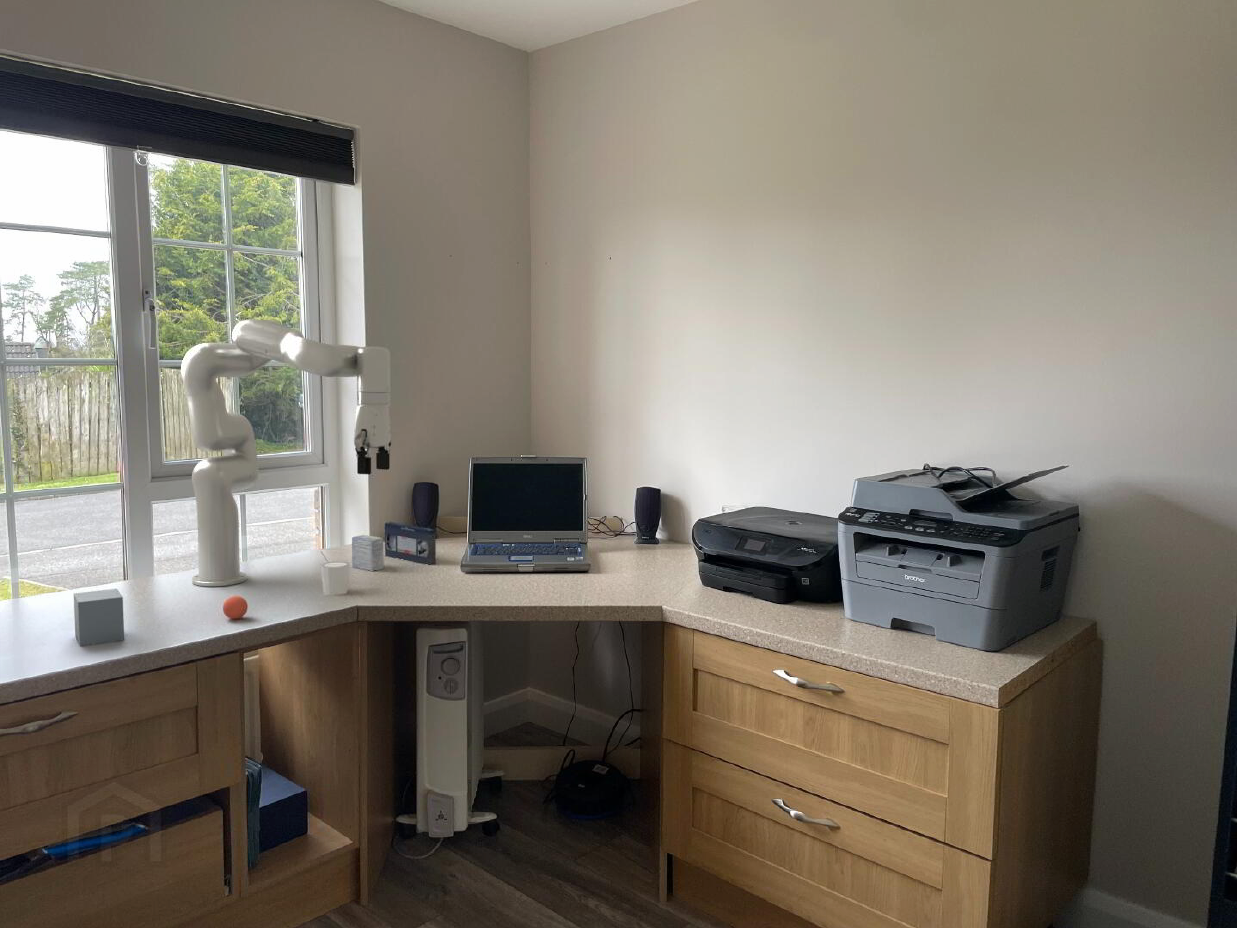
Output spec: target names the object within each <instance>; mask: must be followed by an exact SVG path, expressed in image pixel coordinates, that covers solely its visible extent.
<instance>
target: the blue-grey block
mask: <svg viewBox="0 0 1237 928" xmlns="http://www.w3.org/2000/svg"><path fill="white" fill-rule="evenodd" d="M73 611H74V612H73V613H74V614H73V615H74V632H75V633H74V635H75V638H77V639H76V641H77V640H78V641H77V643H78V645H79V647H82V645H84V646H89V645H88V644H91V645H94V644H93V643H98V644H104V643H110V642H118V641H124V640H125V625H124V623H125V621H124V620H125V619H124V597H123V595H122V594H121V592H120V591H119V589H118V588H109V589H103V590H92V591H85V592H75V593H74V592H73Z"/></svg>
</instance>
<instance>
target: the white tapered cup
mask: <svg viewBox="0 0 1237 928" xmlns="http://www.w3.org/2000/svg"><path fill="white" fill-rule="evenodd" d="M350 566H351V564H350V563H349V562H346V561H329V562H324V563H322V564H320V570H321V571H320V572H321V580H322V590H323V594H324V595H326V594H327V596H340V595H345V594H347V593H348V592H349V591H348V590H349V578H350V577H349V575H350V568H351V567H350Z"/></svg>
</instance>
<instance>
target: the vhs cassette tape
mask: <svg viewBox="0 0 1237 928" xmlns="http://www.w3.org/2000/svg"><path fill="white" fill-rule="evenodd" d="M436 533H437V532H436V529H433V528H428V527H422V526H415V525H410V524H405V523H404V524H403V523H398V522H392V521H390V522H385V523H384V556H385V557H387V556H388V557H387V558H392V559H396V558H399V559H398V560H401V559H403V560H402V561H406V560H407V561H406V562H412V563H417V564H421V565H426V564H428V565H427V566H432V565H435V564H437V562H436V561H437V558H436V555H437V554H436V553H437V550H436V549H437V548H436V546H437V545H436V543H437V541H436V539H437V538H436V536H437V535H436ZM431 564H432V565H431Z"/></svg>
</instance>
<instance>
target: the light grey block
mask: <svg viewBox="0 0 1237 928" xmlns="http://www.w3.org/2000/svg"><path fill="white" fill-rule="evenodd" d="M384 556H385V555H384V538H382V537H379V536H372V535H368V534H361V535H355V536H353V537H352V538H351V558H352V560H351V564H352V568H353V569H359V570H364V571H368V570H370V571H369V572H375V571H374V570H377V571H380V570H383V569H384V566H385V564H384V560H385V559H384Z"/></svg>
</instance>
